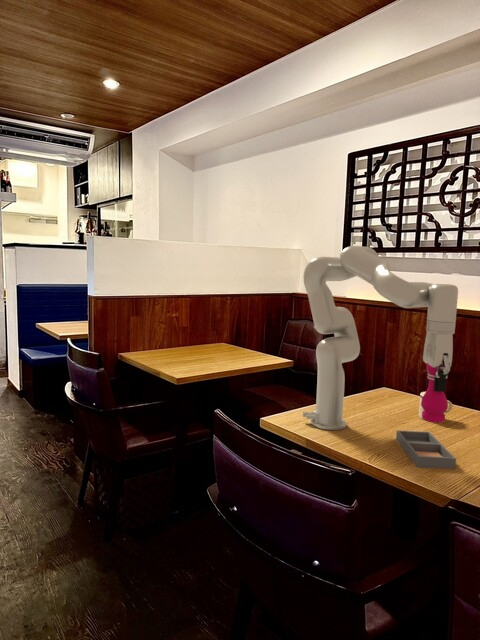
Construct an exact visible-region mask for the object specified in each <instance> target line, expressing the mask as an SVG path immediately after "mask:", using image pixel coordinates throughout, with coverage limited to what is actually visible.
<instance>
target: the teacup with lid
mask: <svg viewBox="0 0 480 640" xmlns="http://www.w3.org/2000/svg"><path fill="white" fill-rule="evenodd" d="M425 393H426V391H422V392H420V394H419V408H418V417H419V418H420V419H422V420H424V419H423V418H422V412H423V411H424V409H423V408H422V406H421V401H422V398H423V396H424V394H425ZM447 403H448V405H449V406H448V408H447V410H446V411H445V412H444V414H448V413H450V411H451V412H452V409H453V403H452V402H451V401H450V400H448V399H447ZM424 421H425V420H424Z"/></svg>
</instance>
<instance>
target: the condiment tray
mask: <svg viewBox="0 0 480 640" xmlns="http://www.w3.org/2000/svg"><path fill="white" fill-rule="evenodd" d="M395 434H396V435H395V440H396V441H397V443H398V444H399V445H400V447H401V448H402V449H403V451H404V452H405V453H406V454H407V456H408V457H409V459H411V460H410V461H412V462H413V464H414V465H415V466H416V467H417V468H425V469H426V468H428V469H430V468H431V469H450V470H453V469H454V470H455V469H456V463H457V458H456V457H455V456H454V455H453V454H452V453H451V452H450V451H449V450H448V449H447V448H446V447H445V446H444V445H443V443H441V442H440V441H439V440H438V439H437V438H436V437H435V436H434V435H433V434H432V432H431V431H420V430H419V431H418V430H416V431H415V430H414V431H413V430H399V429H398V430H396V433H395Z"/></svg>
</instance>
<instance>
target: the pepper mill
mask: <svg viewBox="0 0 480 640" xmlns="http://www.w3.org/2000/svg"><path fill="white" fill-rule="evenodd" d="M425 365H426V367H425V368H426V371H427V370H428V371H429V372H427V373H428V376H427V375H426V379H427V378H428V379H429V385H428V386H427V389H426V391H425V392H426V393H425V394H424V396H423V398H422V401H421V406H422V408H423V409H424V411H423V412H422V418H423V419H424V421H427V422H431V423H437V424H438V423H444V422H445V421H446V413H444V412H445V411H447V410H448V409H449V406H448V405H449V403H447V400H448V399H447V397H446V395H445V392H435V391H434V378H435V377H436V368H433V367H431V366H430V365H429V364H428V363H427V364H425ZM439 367H443V365H439ZM441 370H443V369H439V373H440V371H441ZM423 419H422V420H423Z"/></svg>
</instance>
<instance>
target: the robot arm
mask: <svg viewBox="0 0 480 640" xmlns="http://www.w3.org/2000/svg"><path fill="white" fill-rule="evenodd" d="M303 271H304V272H303V284H304V288H305V291H306V294H307V298H308V302H309V307H310V311H311V315H312V320H313V324H314V328H315V330H316V332H318V333H319V334H321V335H330V334H333V335H334V336H331V337H326V338H324V339H322V340H321V341H319V343H318V344H317V346H316V350H315V357H316V363H317V377H316V378H317V381H316V382H317V384H316V400H315V401H316V402H315V408H314V409H313V410H312V411H302V417H303V418H306V419H308V420H309V419H310V424H311V425H312V426H314V427H315V428H318V429H321V430H327V431H338V430H343V429H346V428H347V423H348V422H347V421H346V420H345V419H343V413H344V399H345V398H344V397H345V370H344V368H343V367H344V366H343V365H342V364H344V363H348V362H352V361H354V360H356V359H357V358H358V357H359V355H360V352H361V345H360V339H359V335H358V331H357V326H356V321H355V318H354V317H353V314H352V313H351V311H350V310H349V309H348V308H346V307H344V306H343V307H342V306H336V304H335V301H334V296H333V292H332V291H331V289H330V287H329V286H328V284H327V282H343V281H347V280H350V279H353V278H355V277H358V278H360V279H361V280H363V281H365V282H366V283H368V284H370V285H372V287H373V288H374V290H376V292H377V294H379V295H380V296H381V297H383V298H384V299H386V300H387V301H390V302H391V303H393V304H395V305H396V306H399V307H401V308H404V309H412V308H427V317H426V328H425V330H426V334H425V339H424V340H425V341H424V346H423V354H422V361H423V362H424V363H425V365H427V363H428V364H429V365H430V366H431V367H433V368H436V377H435V378H434V391H435V392H444V393H445V392H446V391H447V380H448V374H449V372H450V371H451V367H452V362H453V348H454V346H453V345H454V343H453V341H454V338H453V335H455V332H456V331H455V330H456V323H457V322H456V320H457V312H458V311H457V309H458V299H459V288H458V286H456V285H454V284H449V283H429V282H426V281H425V282H422V281H407V280H405V279H403V278H401V277H399V276H397V275H396V274H394V273H392V272H391V265H390V263H389V262H388V261H387V260H384V259H383V258H381V257H379V255H378V254H377V251H376V250H374V249H373V248H371V247H369V246H361V245H350V246H347V247H345V248H344V249H343V250H341V252H340V254H339V257H338V256H337V257H336V256H334V257H333V256H319V257H314V258H313V259H311V260H310V261H309V262H308V263H307V264H306V267H305V268H304V270H303ZM439 365H443V367H439ZM439 369H443V370H441V371H440V373H439ZM428 373H429V371H428V370H427V369H426V381H425V382H426V383H425V385H426V386H427V387H428V385H429V379H428V378H427V376H428Z"/></svg>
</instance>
